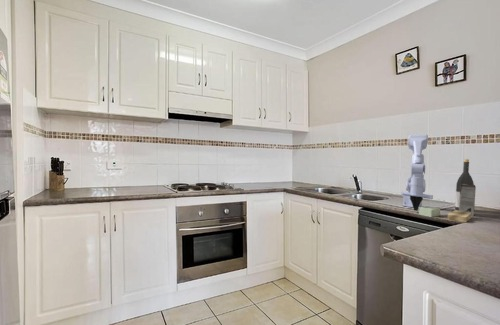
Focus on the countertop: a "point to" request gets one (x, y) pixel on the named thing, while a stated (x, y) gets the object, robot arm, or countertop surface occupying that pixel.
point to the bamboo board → (459, 216)
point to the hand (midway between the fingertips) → (415, 210)
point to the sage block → (429, 211)
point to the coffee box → (467, 198)
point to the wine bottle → (463, 181)
